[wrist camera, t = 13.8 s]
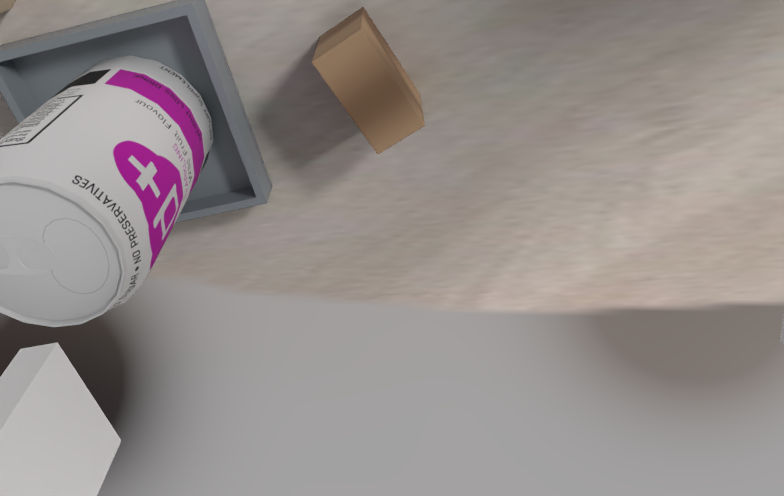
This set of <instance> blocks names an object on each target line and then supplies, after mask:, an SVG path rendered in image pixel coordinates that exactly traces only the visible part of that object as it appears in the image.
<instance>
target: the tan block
mask: <svg viewBox="0 0 784 496" xmlns="http://www.w3.org/2000/svg"><path fill="white" fill-rule="evenodd" d="M15 1H16V0H0V13H3V12H5V11H7V10H9V9H11V8H12V6H13V4H14V2H15Z"/></svg>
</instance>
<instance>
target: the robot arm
mask: <svg viewBox="0 0 784 496" xmlns="http://www.w3.org/2000/svg"><path fill="white" fill-rule="evenodd" d="M780 341H781V343H782V344H783V345H784V313H783V321H782V329H781V337H780ZM120 443H121V439H120V438H119V436H118V435H117V433H116V432H115V430H114V429H113V427H112V426H111V424H110V422H109V421H108V419H107V418H106V416H105V415H104V413H103V412H102V411H101V409H100V407H99V406H98V404H97V402H96V401H95V399H94V398H93V396H92V395H91V393H90V392H89V390H88V389H87V388H86V386H85V384H84V382H83V381H82V379H81V378H80V376H79V375H78V373H77V372H76V370H75V369H74V367H73V366H72V364H71V362H70V361H69V359H68V358H67V356H66V355H65V353H64V352H63V350H62V349H61V347H60V346H59V344H58V343H52V344H46V345H41V346H34V347H29V348H23V349H20V350H19V352H18V353H17V354H16V356H15V357H14V359H13V360H12V361H11V363H10V364H9V366H8V367H7V368H6V370H5V371H4V373H3V374H2V375H1V377H0V496H97V494H98V492H99V490H100V487H101V485H102V482H103V481H104V478H105V476H106V474H107V472H108V469H109V467H110V465H111V463H112V460H113V458H114V456H115V454H116V451H117V449H118V447H119V445H120Z"/></svg>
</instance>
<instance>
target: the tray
mask: <svg viewBox="0 0 784 496" xmlns="http://www.w3.org/2000/svg"><path fill="white" fill-rule="evenodd" d="M123 56H136V57H140V58H145V59H150V60H154V61H158V62H160V63H161V64H163V65H165V66H167V67H168V68H170V69H172V70H174V71H176V72H177V73H179V74H181V75H182V76H183V77H184V78H185V79H186V80H187V81H188V82H189V83H190V84H191V85H192V87H193V88H194V89H195V90H196V91H197V92H198V93H199V94H200V95H201V98H202V100H203V102H204V104H205V106H206V108H207V110H208V112H209V114H210V116H211V123H212V133H213V143H212V146H211V150H210V153H209V156H208V160H207V162H206V164H205V166H204V168H203V170H202V172H201V174H200V176H199V178H198V179H197V181H196V183H195V185H194V187H193V189H192V191H191V193H190V195H189V197H188V199H187V201H186V203H185V204H184V206H183V208H182V210H181V212H180V214H179V216H178V218H177V220H176V222H175V223H177V222H182V221H186V220H191V219H195V218H200V217H205V216H209V215H214V214H218V213H223V212H228V211H232V210H237V209H242V208H246V207H251V206H255V205H260V204H265V203H267V202H268V198H269V195H270V192H271V189H272V184H271V181H270V179H269V176H268V173H267V170H266V168H265V165H264V162H263V159H262V157H261V154H260V151H259V148H258V146H257V143H256V140H255V137H254V135H253V132H252V129H251V126H250V124H249V121H248V118H247V115H246V113H245V110H244V107H243V105H242V102H241V99H240V96H239V94H238V91H237V88H236V85H235V83H234V80H233V77H232V74H231V72H230V69H229V66H228V63H227V61H226V58H225V55H224V52H223V50H222V47H221V44H220V42H219V39H218V36H217V33H216V31H215V28H214V25H213V22H212V20H211V17H210V14H209V11H208V9H207V6H206V3H205V0H177V1H173V2H169V3H165V4H161V5H157V6H153V7H149V8H145V9H141V10H137V11H133V12H129V13H125V14H121V15H118V16H114V17H110V18H106V19H102V20H98V21H94V22H90V23H86V24H82V25H78V26H74V27H70V28H66V29H62V30H58V31H55V32H51V33H47V34H43V35H39V36H35V37H31V38H27V39H23V40H19V41H15V42H11V43H7V44H3V45H1V46H0V92H1V93H2V95H3V97H4V99H5V100H6V102H7V104H8V106H9V108H10V109H11V111H12V113H13V115H14V116H15V118H16V120H17V122H18V124H20V123H21V122H22V121H23V120H25V119H26V118H27V117H28V116H29V115H31V114H32V113H33V112H34V111H36V110H37V109H38V108H39V107H41V106H42V105H43V104H44V103H46V102H47V101H48V100H49V99H51V98H52V97H53V96H54V95H56V94H57V93H58V92H59V91H60V90H62V89H63V88H64V87H65V86H67V85H68V84H69V83H70V82H72V81H73V80H74V79H75V78H77V77H78V76H79V75H80V74H82V73H83V72H84V71H85V70H87V69H89V68H91V67H92V66H94V65H96V64H97V63H99V62H101V61H103V60H104V59H108V58H116V57H123Z"/></svg>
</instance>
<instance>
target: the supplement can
mask: <svg viewBox="0 0 784 496" xmlns="http://www.w3.org/2000/svg"><path fill="white" fill-rule="evenodd" d="M212 143H213V133H212V123H211V116H210V114H209V112H208V110H207V108H206V106H205V104H204V102H203V100H202V98H201V95H200V94H199V93H198V92H197V91H196V90H195V89H194V88H193V87H192V85H191V84H190V83H189V82H188V81H187V80H186V79H185V78H184V77H183V76H182V75H181V74H179V73H177V72H176V71H174V70H172V69H170V68H168V67H167V66H165V65H163V64H161V63H160V62H158V61H154V60H150V59H145V58H140V57H136V56H123V57H116V58H108V59H104V60H103V61H101V62H99V63H97V64H96V65H94V66H92V67H91V68H89V69H87V70H85V71H84V72H83V73H82V74H80V75H79V76H78V77H77V78H75V79H74V80H73V81H72V82H70V83H69V84H68V85H67V86H65V87H64V88H63V89H62V90H60V91H59V92H58V93H57V94H56V95H54V96H53V97H52V98H51V99H49V100H48V101H47V102H46V103H44V104H43V105H42V106H41V107H39V108H38V109H37V110H36V111H34V112H33V113H32V114H31V115H29V116H28V117H27V118H26V119H25V120H23V121H22V122H21V123H20V124H18V125H17V126H16V127H15V128H13V129H12V130H11V131H10V132H8V133H7V134H6V135H5V136H3V137H2V138H1V139H0V313H2V314H5V315H7V316H10V317H12V318H14V319H17V320H19V321H22V322H24V323H30V324H37V325H43V326H50V327H60V326H69V325H78V324H83V323H85V322H87V321H89V320H91V319H93V318H95V317H97V316H100V315H102V314H104V313H105V312H106V311H108V310H110V309H112V308H114V307H116V306H118V305H120V304H123V303H125V302H127V301H128V299H129V298H130V297H131V296H132V295H133V294H134V293H135V292H136V290H137V289H138V288H139V287H140V286H141V285H142V284H143V283H144V281H145V279H146V277H147V276H148V274H149V272H150V270H151V268H152V266H153V264H154V262H155V260H156V258H157V256H158V254H159V252H160V251H161V249H162V247H163V245H164V243H165V241H166V239H167V237H168V235H169V233H170V231H171V229H172V227H173V226H174V224H175V222H176V220H177V218H178V216H179V214H180V212H181V210H182V208H183V206H184V204H185V203H186V201H187V199H188V197H189V195H190V193H191V191H192V189H193V187H194V185H195V183H196V181H197V179H198V178H199V176H200V174H201V172H202V170H203V168H204V166H205V164H206V162H207V160H208V156H209V153H210V150H211V146H212Z"/></svg>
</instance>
